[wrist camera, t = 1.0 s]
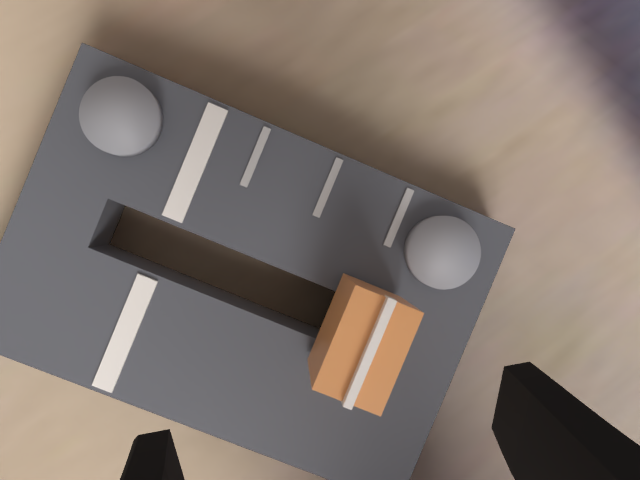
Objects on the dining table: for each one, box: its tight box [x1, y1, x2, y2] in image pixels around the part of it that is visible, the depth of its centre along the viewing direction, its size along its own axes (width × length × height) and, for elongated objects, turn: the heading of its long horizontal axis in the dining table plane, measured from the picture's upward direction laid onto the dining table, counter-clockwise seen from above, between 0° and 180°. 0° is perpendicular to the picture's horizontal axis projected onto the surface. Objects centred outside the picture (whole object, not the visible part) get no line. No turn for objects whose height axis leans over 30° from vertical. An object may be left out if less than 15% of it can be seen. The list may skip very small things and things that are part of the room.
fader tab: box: [307, 273, 424, 416], centre depth 20 cm, size 2×4×6 cm, turn 157°
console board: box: [0, 43, 515, 480], centre depth 21 cm, size 18×12×3 cm, turn 67°
